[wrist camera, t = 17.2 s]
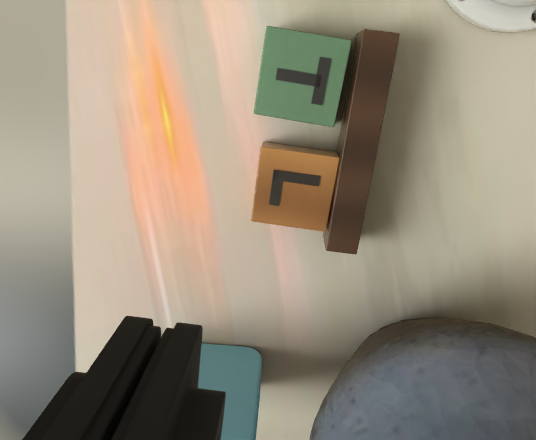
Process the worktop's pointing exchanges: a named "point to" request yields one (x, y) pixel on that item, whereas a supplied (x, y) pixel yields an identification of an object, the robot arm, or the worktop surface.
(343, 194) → the walnut ledge
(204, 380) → the blue rounded slab
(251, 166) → the worktop surface
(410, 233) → the worktop surface
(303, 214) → the oak letter tile
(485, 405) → the pitcher
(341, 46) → the sage letter tile
